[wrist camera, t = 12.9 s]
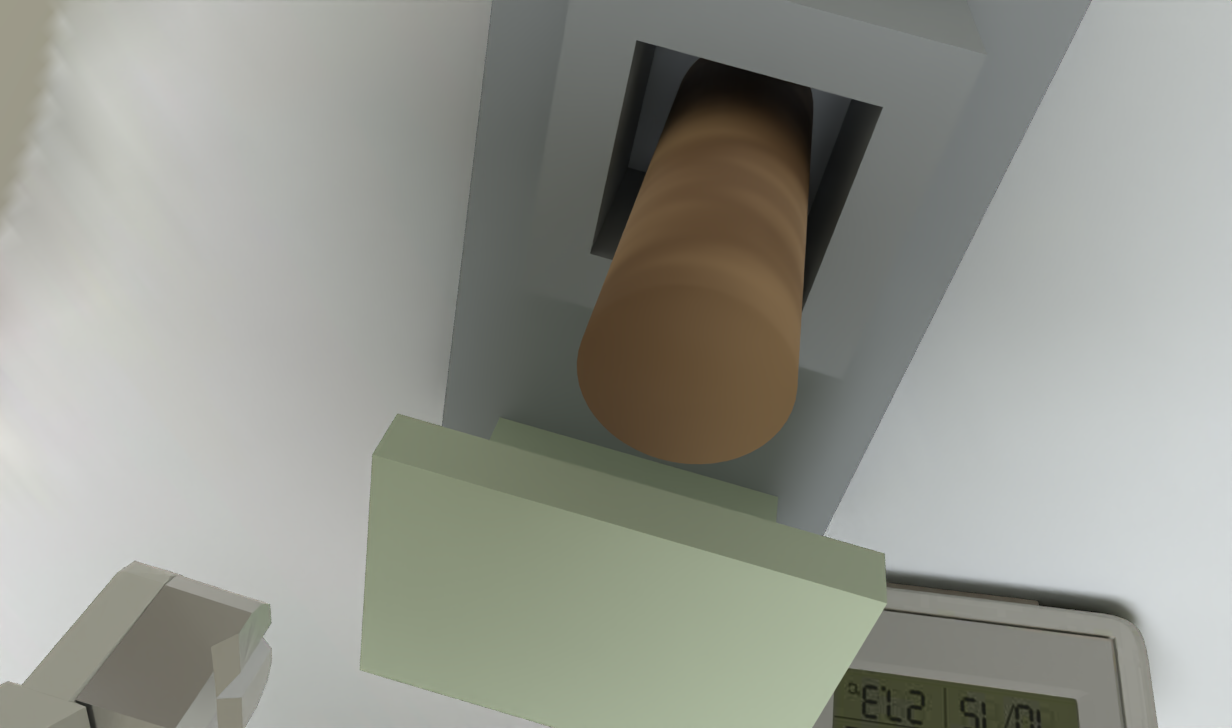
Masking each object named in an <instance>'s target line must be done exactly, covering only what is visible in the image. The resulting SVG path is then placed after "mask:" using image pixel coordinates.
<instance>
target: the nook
mask: <svg viewBox="0 0 1232 728" xmlns="http://www.w3.org/2000/svg"><path fill="white" fill-rule="evenodd" d="M1091 1H1092V0H493V1H492V9H491V17H490V26H489V34H488V43H487V51H486V59H485V68H484V76H483V85H482V93H481V102H480V110H479V118H478V127H477V135H476V144H475V152H474V160H473V169H472V177H471V186H470V194H469V203H468V211H467V219H466V228H465V236H464V245H463V253H462V261H461V270H460V278H459V287H458V295H457V304H456V312H455V320H454V329H453V337H452V346H451V354H450V362H449V371H448V379H447V388H446V396H445V405H444V413H443V421H442V426H439V425H435V424H432V423H428V422H425V421H421V420H418V419H414V418H411V417H407V416H404V415H401V414H397V415H396V416H395V418H394V420H393V421H392V423H391V425H390V426H389V428H388V430H387V431H386V433H385V435H384V436H383V438H382V440H381V441H380V443H379V445H378V446H377V448H376V449H375V451H374V453H373V454H372V471H371V487H370V504H369V521H368V538H367V555H366V572H365V589H364V606H363V622H362V639H361V656H360V670H361V671H364V672H368V673H371V674H374V675H378V676H381V677H385V678H388V679H391V680H395V681H398V682H401V683H405V684H408V685H412V686H415V687H418V688H422V689H425V690H428V691H432V692H435V693H438V694H442V695H445V696H449V697H452V698H455V699H459V700H462V701H465V702H469V703H472V704H475V705H479V706H482V707H486V708H489V709H492V710H496V711H499V712H502V713H506V714H509V715H513V716H516V717H519V718H523V719H526V720H529V721H533V722H536V723H539V724H543V725H546V726H550V727H553V728H812V727H813V726H814V724H815V722H816V721H817V719H818V717H819V716H820V714H821V712H822V711H823V709H824V707H825V706H826V704H827V702H828V701H829V699H830V697H831V696H832V694H833V692H834V691H835V689H836V687H837V686H838V684H839V682H840V681H841V679H842V678H843V676H844V674H845V673H846V671H847V669H848V668H849V666H850V664H851V663H852V661H853V659H854V658H855V656H856V654H857V653H858V651H859V649H860V648H861V646H862V644H863V643H864V641H865V639H866V638H867V636H868V634H869V633H870V631H871V629H872V628H873V626H874V625H875V623H876V621H877V620H878V618H879V616H880V615H881V613H882V611H883V610H884V608H885V606H886V605H887V589H886V568H885V554H884V553H880V552H877V551H873V550H870V549H866V548H863V547H859V546H856V545H853V544H849V543H846V542H842V541H839V540H835V539H832V538H828V537H825V536H823V535H824V533H825V531H826V529H827V527H828V525H829V523H830V521H831V519H832V517H833V515H834V513H835V511H836V509H837V507H838V505H839V503H840V501H841V499H842V497H843V495H844V493H845V491H846V489H847V487H848V485H849V483H850V481H851V479H852V477H853V475H854V473H855V471H856V469H857V467H858V465H859V463H860V461H861V459H862V457H863V455H864V453H865V451H866V449H867V447H868V445H869V443H870V441H871V439H872V437H873V435H874V433H875V431H876V429H877V427H878V425H879V423H880V421H881V419H882V417H883V415H884V413H885V411H886V409H887V407H888V405H889V403H890V401H891V399H892V397H893V395H894V393H895V391H896V389H897V387H898V386H899V384H900V382H901V380H902V378H903V376H904V374H905V372H906V370H907V368H908V366H909V364H910V362H911V360H912V358H913V356H914V354H915V352H916V350H917V348H918V346H919V344H920V342H921V340H922V338H923V336H924V334H925V332H926V330H927V328H928V326H929V324H930V322H931V320H932V318H933V316H934V314H935V312H936V310H937V308H938V306H939V304H940V302H941V300H942V298H943V296H944V294H945V292H946V290H947V288H948V286H949V284H950V282H951V280H952V278H953V276H954V274H955V272H956V270H957V268H958V266H959V264H960V262H961V260H962V258H963V256H964V254H965V252H966V250H967V248H968V246H969V244H970V242H971V240H972V238H973V236H974V234H975V232H976V230H977V228H978V226H979V224H980V222H981V220H982V218H983V216H984V214H985V212H986V210H987V208H988V206H989V204H990V202H991V200H992V198H993V196H994V194H995V192H996V190H997V188H998V186H999V184H1000V182H1001V180H1002V178H1003V176H1004V174H1005V172H1006V170H1007V168H1008V166H1009V164H1010V162H1011V160H1012V158H1013V156H1014V154H1015V152H1016V150H1017V148H1018V146H1019V144H1020V142H1021V140H1022V138H1023V136H1024V134H1025V132H1026V130H1027V128H1028V126H1029V124H1030V123H1031V121H1032V119H1033V117H1034V115H1035V113H1036V111H1037V109H1038V107H1039V105H1040V103H1041V101H1042V99H1043V97H1044V95H1045V93H1046V91H1047V89H1048V87H1049V85H1050V83H1051V81H1052V79H1053V77H1054V75H1055V73H1056V71H1057V69H1058V67H1059V65H1060V63H1061V61H1062V59H1063V57H1064V55H1065V53H1066V51H1067V49H1068V47H1069V45H1070V43H1071V41H1072V39H1073V37H1074V35H1075V33H1076V31H1077V29H1078V27H1079V25H1080V23H1081V21H1082V19H1083V17H1084V15H1085V13H1086V11H1087V9H1088V7H1089V5H1090V3H1091ZM699 58H704V59H708V60H711V61H715V62H719V63H722V64H726V65H730V66H733V67H737V68H741V69H744V70H748V71H752V72H756V73H759V74H763V75H767V76H770V77H774V78H778V79H781V80H785V81H789V82H792V83H796V84H800V85H803V86H807V87H810V88H811V91H812V96H813V128H812V145H811V163H810V180H809V197H808V214H807V231H806V248H805V266H804V283H803V300H802V317H801V334H800V352H799V369H798V386H797V394H796V400H795V403H794V406H793V409H792V412H791V414H790V416H789V417H788V419H787V421H786V423H785V424H784V425H783V427H782V428H781V429H780V431H779V432H778V433H777V434H776V435H775V436H774V437H773V438H772V439H771V440H769V441H768V442H767V443H765V444H764V445H763V446H761V447H760V448H758V449H756V450H754V451H753V452H751V453H748V454H746V455H744V456H741V457H739V458H735V459H732V460H729V461H724V462H718V463H712V464H684V463H676V462H671V461H666V460H662V459H658V458H655V457H652V456H649V455H647V454H644V453H642V452H640V451H638V450H635V449H634V448H632V447H630V446H628V445H627V444H625V443H623V442H622V441H620V440H619V439H618V438H616V437H615V436H614V435H612V434H611V433H610V432H609V431H608V430H607V429H606V428H605V427H604V426H603V425H602V424H601V423H600V422H599V421H598V420H597V418H596V417H595V416H594V415H593V413H592V412H591V410H590V409H589V407H588V405H587V403H586V401H585V399H584V397H583V395H582V392H581V389H580V386H579V382H578V376H577V357H578V350H579V347H580V344H581V340H582V338H583V335H584V333H585V330H586V327H587V325H588V322H589V320H590V317H591V314H592V312H593V309H594V307H595V304H596V302H597V299H598V296H599V294H600V291H601V289H602V286H603V283H604V281H605V278H606V276H607V273H608V271H609V268H610V265H611V263H612V260H613V258H614V255H615V252H616V250H617V247H618V245H619V242H620V239H621V237H622V234H623V232H624V229H625V227H626V224H627V221H628V219H629V216H630V214H631V211H632V208H633V206H634V203H635V201H636V198H637V196H638V193H639V190H640V188H641V185H642V183H643V180H644V177H645V175H646V172H647V170H648V167H649V164H650V162H651V159H652V157H653V154H654V152H655V149H656V146H657V144H658V141H659V139H660V136H661V133H662V131H663V128H664V126H665V123H666V121H667V118H668V115H669V113H670V110H671V108H672V105H673V102H674V100H675V97H676V95H677V92H678V90H679V87H680V84H681V82H682V80H683V78H684V76H685V75H686V73H687V71H688V70H689V69H690V67H691V66H692V65H693V64H694V63H695V62H696V61H697V60H698V59H699Z"/></svg>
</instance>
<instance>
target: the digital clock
mask: <svg viewBox="0 0 1232 728" xmlns="http://www.w3.org/2000/svg"><path fill="white" fill-rule="evenodd" d="M886 589H887V605H886V606H885V608H884V610H883V611H882V613H881V615H880V616H879V618H878V620H877V621H876V623H875V625H874V626H873V628H872V629H871V631H870V633H869V634H868V636H867V638H866V639H865V641H864V643H863V644H862V646H861V648H860V649H859V651H858V653H857V654H856V656H855V658H854V659H853V661H852V663H851V664H850V666H849V668H848V669H847V671H846V673H845V674H844V676H843V678H842V679H841V681H840V682H839V684H838V686H837V687H836V689H835V691H834V692H833V694H832V696H831V697H830V699H829V701H828V702H827V704H826V706H825V707H824V709H823V711H822V712H821V714H820V716H819V717H818V719H817V721H816V722H815V724H814V726H813V727H812V728H1158V724H1157V717H1156V710H1155V703H1154V696H1153V689H1152V681H1151V674H1150V667H1149V660H1148V655H1147V650H1146V646H1145V642H1144V639H1143V637H1142V635H1141V632H1140V631H1139V630H1138V628H1137V627H1136V626H1135V625H1134V624H1133V623H1131V622H1129V621H1128V620H1126V619H1123V618H1120V617H1118V616H1114V615H1109V614H1103V613H1096V612H1088V611H1079V610H1071V609H1063V608H1055V607H1046V606H1039V603H1038V601H1036V600H1028V599H1019V598H1011V597H1003V596H994V595H986V594H978V593H969V592H961V591H953V590H945V589H936V588H928V587H920V586H911V585H903V584H895V583H886Z"/></svg>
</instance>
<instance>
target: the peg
mask: <svg viewBox="0 0 1232 728" xmlns="http://www.w3.org/2000/svg"><path fill="white" fill-rule="evenodd" d="M812 128H813V96H812V91H811V88H810V87H807V86H803V85H800V84H796V83H792V82H789V81H785V80H781V79H778V78H774V77H770V76H767V75H763V74H759V73H756V72H752V71H748V70H744V69H741V68H737V67H733V66H730V65H726V64H722V63H719V62H715V61H711V60H708V59H704V58H699V59H698V60H697V61H696V62H695V63H694V64H693V65H692V66H691V67H690V69H689V70H688V71H687V73H686V75H685V76H684V78H683V80H682V82H681V84H680V87H679V90H678V92H677V95H676V97H675V100H674V102H673V105H672V108H671V110H670V113H669V115H668V118H667V121H666V123H665V126H664V128H663V131H662V133H661V136H660V139H659V141H658V144H657V146H656V149H655V152H654V154H653V157H652V159H651V162H650V164H649V167H648V170H647V172H646V175H645V177H644V180H643V183H642V185H641V188H640V190H639V193H638V196H637V198H636V201H635V203H634V206H633V208H632V211H631V214H630V216H629V219H628V221H627V224H626V227H625V229H624V232H623V234H622V237H621V239H620V242H619V245H618V247H617V250H616V252H615V255H614V258H613V260H612V263H611V265H610V268H609V271H608V273H607V276H606V278H605V281H604V283H603V286H602V289H601V291H600V294H599V296H598V299H597V302H596V304H595V307H594V309H593V312H592V314H591V317H590V320H589V322H588V325H587V327H586V330H585V333H584V335H583V338H582V340H581V344H580V347H579V350H578V357H577V376H578V382H579V386H580V389H581V392H582V395H583V397H584V399H585V401H586V403H587V405H588V407H589V409H590V410H591V412H592V413H593V415H594V416H595V417H596V418H597V420H598V421H599V422H600V423H601V424H602V425H603V426H604V427H605V428H606V429H607V430H608V431H609V432H610V433H611V434H612V435H614V436H615V437H616V438H618V439H619V440H620V441H622V442H623V443H625V444H627V445H628V446H630V447H632V448H634V449H635V450H638V451H640V452H642V453H644V454H647V455H649V456H652V457H655V458H658V459H662V460H666V461H671V462H676V463H684V464H712V463H718V462H724V461H729V460H732V459H735V458H739V457H741V456H744V455H746V454H748V453H751V452H753V451H754V450H756V449H758V448H760V447H761V446H763V445H764V444H765V443H767V442H768V441H769V440H771V439H772V438H773V437H774V436H775V435H776V434H777V433H778V432H779V431H780V429H781V428H782V427H783V425H784V424H785V423H786V421H787V419H788V417H789V416H790V414H791V412H792V409H793V406H794V403H795V400H796V394H797V386H798V369H799V352H800V334H801V317H802V300H803V283H804V266H805V248H806V231H807V214H808V197H809V180H810V163H811V145H812Z"/></svg>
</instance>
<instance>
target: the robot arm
mask: <svg viewBox="0 0 1232 728" xmlns="http://www.w3.org/2000/svg"><path fill="white" fill-rule="evenodd" d="M270 624H271V611H270V604H268V603H265V602H262V601H259V600H256V599H253V598H249V597H246V596H243V595H240V594H237V593H234V592H231V591H227V590H224V589H221V588H218V587H215V586H212V585H209V584H205V583H202V582H199V581H196V580H193V579H190V578H187V577H184V576H182V575H180V574H177V573H173V572H170V571H167V570H163V569H160V568H157V567H154V566H150V565H147V564H144V563H140V562H137V561H134V562H132V563H131V564H129V565H128V566H126V567H125V568H123V569H122V570H120V571H119V572H118V573H117V574H116V575H115V576H114V577H113V578H112V580H111V581H110V582H109V583H108V584H107V585H106V587H105V588H104V589H103V590H102V591H101V592H100V594H99V595H98V596H97V597H96V598H95V600H94V601H93V602H92V603H91V604H90V605H89V607H88V608H87V609H86V610H85V611H84V612H83V614H82V615H81V616H80V617H79V618H78V619H77V621H76V622H75V623H74V624H73V625H72V627H71V628H70V629H69V630H68V631H67V632H66V634H65V635H64V636H63V637H62V638H61V639H60V641H59V642H58V643H57V644H56V645H55V646H54V648H53V649H52V650H51V651H50V652H49V654H48V655H47V656H46V657H45V658H44V659H43V661H42V662H41V663H40V664H39V665H38V666H37V668H36V669H35V670H34V671H33V672H32V673H31V675H30V676H29V677H28V678H27V679H26V681H25V682H24V683H23V684H22V685H20V684H16V683H13V682H9V681H7V682H5V683H3V684H1V685H0V728H245V727H246V725H247V723H248V721H249V720H250V718H251V716H252V714H253V713H254V711H255V709H256V707H257V705H258V703H259V700H260V698H261V695H262V693H263V691H264V688H265V686H266V683H267V681H268V676H269V671H270V667H271V660H272V648H271V647H270V646H269V644H268V643H267V642H266V641H265V639H264V638H263V636H264V634H265V632H266V631H267V629H268V628H269V626H270Z"/></svg>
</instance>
